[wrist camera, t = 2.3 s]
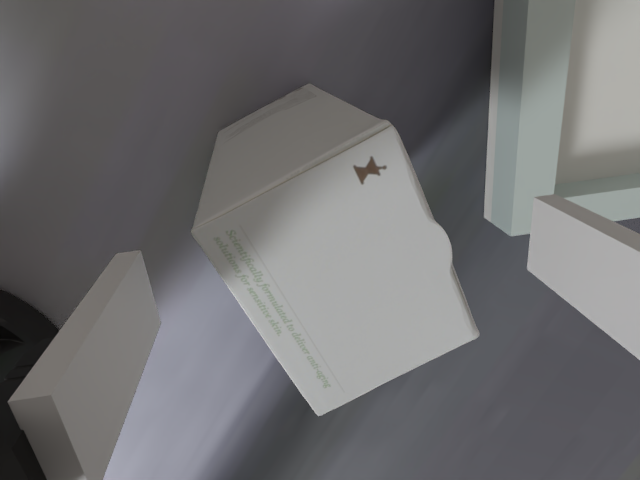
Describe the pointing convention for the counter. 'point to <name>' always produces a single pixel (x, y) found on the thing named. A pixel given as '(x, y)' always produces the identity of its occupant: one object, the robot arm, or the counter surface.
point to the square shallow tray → (563, 109)
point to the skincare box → (330, 246)
